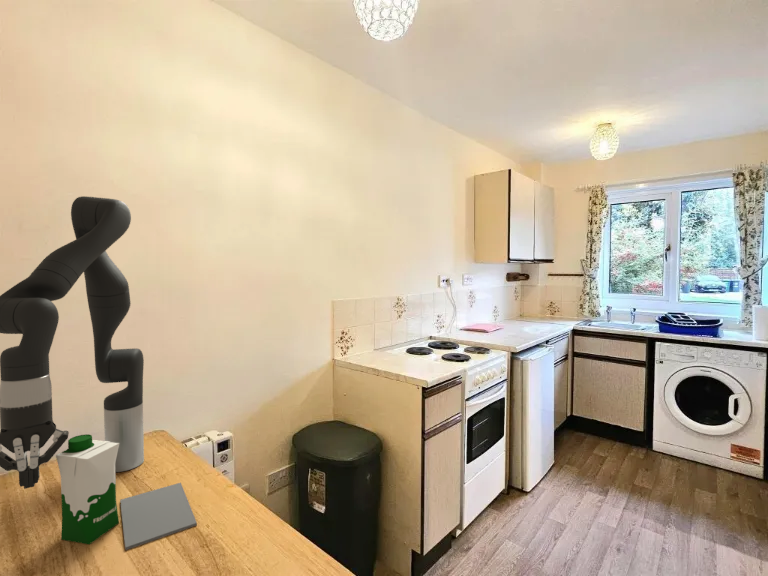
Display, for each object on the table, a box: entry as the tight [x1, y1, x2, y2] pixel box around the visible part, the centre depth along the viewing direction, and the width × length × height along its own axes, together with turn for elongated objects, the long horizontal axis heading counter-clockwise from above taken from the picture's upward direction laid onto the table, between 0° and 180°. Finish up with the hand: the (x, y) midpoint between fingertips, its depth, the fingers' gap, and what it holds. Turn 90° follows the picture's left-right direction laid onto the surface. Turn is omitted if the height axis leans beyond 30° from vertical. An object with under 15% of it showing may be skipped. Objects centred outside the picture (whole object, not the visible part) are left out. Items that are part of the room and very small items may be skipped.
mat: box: [119, 482, 198, 551], centre depth 89 cm, size 20×13×1 cm, turn 36°
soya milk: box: [55, 434, 120, 545], centre depth 82 cm, size 9×9×20 cm
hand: (29, 486), depth 77 cm, fingers closed
